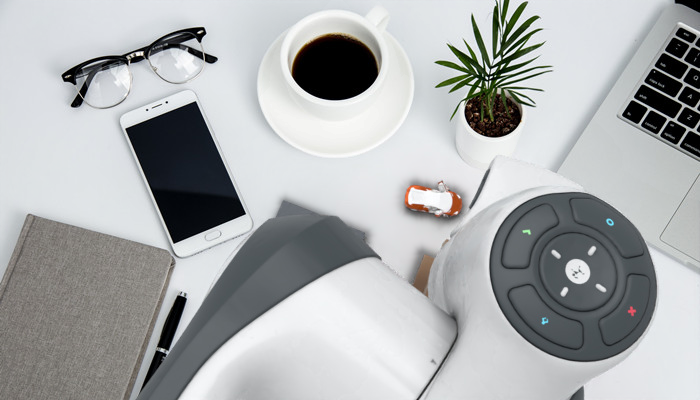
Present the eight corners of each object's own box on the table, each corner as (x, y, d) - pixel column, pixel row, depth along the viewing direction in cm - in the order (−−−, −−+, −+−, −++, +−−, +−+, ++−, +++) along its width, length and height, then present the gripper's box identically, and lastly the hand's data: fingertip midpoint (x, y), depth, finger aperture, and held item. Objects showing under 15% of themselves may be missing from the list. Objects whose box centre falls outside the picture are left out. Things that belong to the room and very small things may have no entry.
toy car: (458, 225, 85) (461, 221, 82) (401, 213, 86) (402, 210, 82) (464, 189, 86) (468, 184, 83) (408, 178, 86) (409, 173, 83)
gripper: (489, 465, 38) (458, 425, 51) (593, 165, 41) (538, 202, 55) (393, 423, 38) (388, 395, 52) (504, 132, 42) (471, 177, 55)
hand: (466, 294), depth 53 cm, fingers closed
